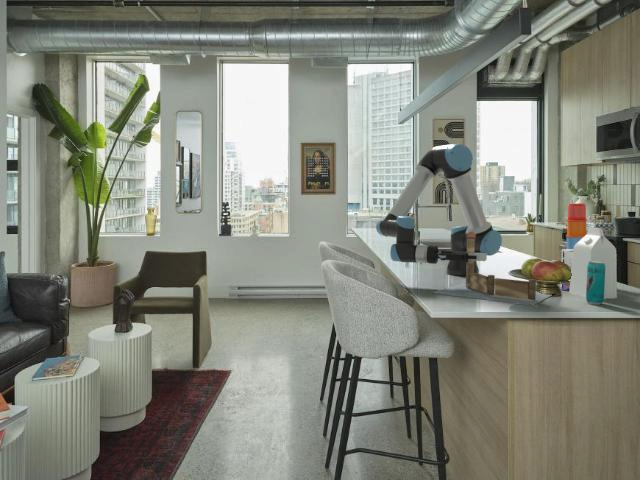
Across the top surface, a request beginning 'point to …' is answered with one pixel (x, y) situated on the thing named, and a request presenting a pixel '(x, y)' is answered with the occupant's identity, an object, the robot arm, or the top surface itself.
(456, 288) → the card
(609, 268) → the milk
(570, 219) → the stacking cups
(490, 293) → the fence fixed
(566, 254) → the candy box
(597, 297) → the beverage can
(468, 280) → the folding fence panel
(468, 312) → the top surface
